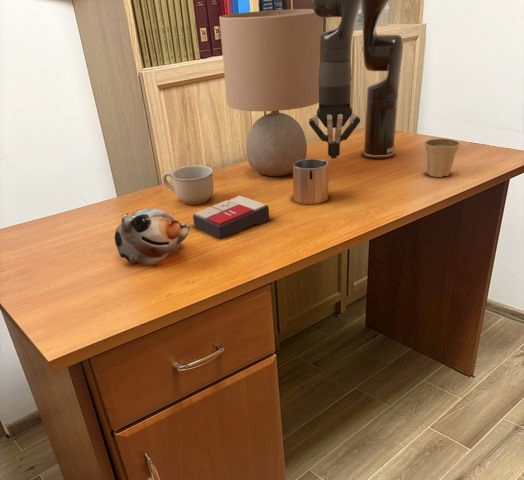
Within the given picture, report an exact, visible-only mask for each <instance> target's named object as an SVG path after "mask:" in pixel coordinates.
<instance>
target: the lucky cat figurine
mask: <svg viewBox="0 0 524 480" xmlns="http://www.w3.org/2000/svg"><path fill="white" fill-rule="evenodd" d="M190 230H191V226H190V224H189V223H188V224H187V223H186V222H179V221H178V220H177V219H176V218H175V217H174V216H173V215H172V214H170V213H169V212H168V211H165V210H163V209H161V208H156V207H155V208H148V207H147V208H142V209H138V210H136V211H135V212H134V213H133V214H132V215H130V214H128V213H127V212H126V213H124V214H123V216H122V217H121V223H120V225H118V226H117V228H116V229H115V234H114V243H115V246H116V250H117V251H118V255H119V257H120V258H122V259H123V258H125V259H126V260H127V262H129V263H130V265H138V266H139V265H140V266H154V265H155V264H156V263H158V262H159V261H161V260H162V261H163V260H164V259H165V258H166V257H167V256H168V255H169V254H170V253H173V252H174V251H176V250H178V249H179V248H181V244H182V242H183V241H185V239H186V238H187V237H188V235H189V233H190Z"/></svg>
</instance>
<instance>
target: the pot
mask: <svg viewBox="0 0 524 480" xmlns="http://www.w3.org/2000/svg"><path fill="white" fill-rule="evenodd" d="M329 167H330V166H329V161H327V160H326V159H322V158H306V159H303V160H299V161H296V162H294V163H293V173H292V181H293V183H292V185H293V186H292V187H293V201H294V202H295V203H298V204H302V205H317V204H323V203H324V202H327V200H329Z"/></svg>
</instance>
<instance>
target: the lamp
mask: <svg viewBox="0 0 524 480" xmlns="http://www.w3.org/2000/svg"><path fill="white" fill-rule="evenodd" d="M219 28H220V38H221V51H222V62H223V74H224V75H223V76H224V85H225V99H226V105H227V107H229V108H230V109H233V110H237V111H244V112H245V111H246V112H270V113H267V114H264V115H262V116H260V117H259V118H258V119H257V120H256V121H255V122H254V123H253V124H252V126H251V127H250V129H249V132H248V135H247V138H246V147H245V149H246V151H245V152H246V158H247V161H248V164H249V165H250V167H251V168H252V169H253V170H254V171H255V172H257V173H258V174H261V175H263V176H269V177H281V176H287V175H290V174H293V163H294V162H296V161H299V160H303V159H307V153H308V144H307V137H306V135H305V132H304V129H303V127H302V126H301V124H300V123H299V122H298V121H297V120H296V119H295V118H294V117H292V116H290V115H289V114H286V113H283V112H281V111H290V110H298V109H303V108H307V107H311V106H314V105H317V104H319V68H320V39H321V35H322V34H323V33H324V18H322V17H319V16H317V15H316V14H315V12H314V10H313V8H294V9H293V8H291V9H273V10H272V9H271V10H260V11H249V12H248V11H247V12H239V13H231V14H225V15H220V16H219Z"/></svg>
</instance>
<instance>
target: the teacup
mask: <svg viewBox="0 0 524 480" xmlns="http://www.w3.org/2000/svg"><path fill="white" fill-rule="evenodd" d="M213 172H214V171H213V169H212V168H211V167H210V166H207V165H201V164H195V165H192V164H191V165H185V166H181V167H179V168H176V169H175V170H174V171H166V172H164V173H163V174H162V177H161V180H162V183H163V185H165V186H166V188H168V189H169V190H170V191H172V192H173V193H174V194H175V195H176V197H177V198H178V200H179V201H181V202H183V203H184V204H187V205H192V206H194V205H201V204H204V203H206V202H207V201H209V199H210V198H211V197H212V196H213V194H214V189H215V188H214V187H215V185H214V174H213ZM167 177H170V178H171V180H172V182H173V185H172V184H171V183H170V182H169V181H168V178H167Z"/></svg>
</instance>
